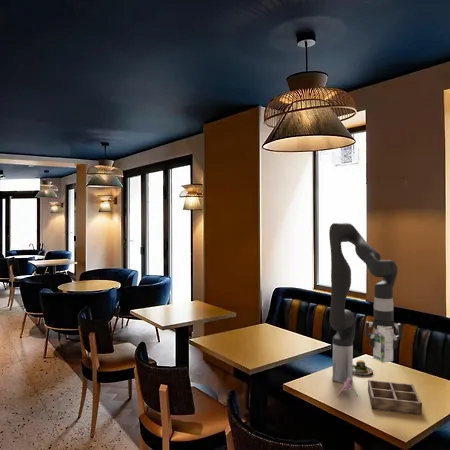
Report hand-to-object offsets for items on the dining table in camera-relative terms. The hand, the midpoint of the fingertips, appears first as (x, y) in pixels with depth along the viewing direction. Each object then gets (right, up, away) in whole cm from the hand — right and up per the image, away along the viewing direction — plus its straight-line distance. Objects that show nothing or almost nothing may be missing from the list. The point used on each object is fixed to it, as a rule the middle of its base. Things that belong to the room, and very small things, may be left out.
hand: (383, 347), depth 163 cm
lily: (-11, -24, +10) cm, 29 cm away
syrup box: (0, -5, 0) cm, 5 cm away
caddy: (+5, -24, +3) cm, 25 cm away
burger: (+3, -24, +36) cm, 43 cm away
